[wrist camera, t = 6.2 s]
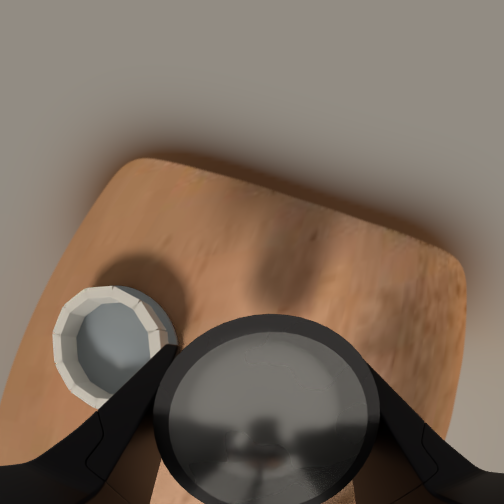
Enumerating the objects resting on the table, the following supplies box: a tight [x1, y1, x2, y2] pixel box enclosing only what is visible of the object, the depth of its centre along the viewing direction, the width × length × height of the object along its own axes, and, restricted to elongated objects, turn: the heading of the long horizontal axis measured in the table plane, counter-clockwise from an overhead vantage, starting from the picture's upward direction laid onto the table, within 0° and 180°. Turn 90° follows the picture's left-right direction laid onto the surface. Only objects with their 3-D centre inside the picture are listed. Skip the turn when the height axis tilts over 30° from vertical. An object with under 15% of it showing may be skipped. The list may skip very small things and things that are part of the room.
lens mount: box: [53, 286, 179, 409], centre depth 19 cm, size 10×10×3 cm
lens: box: [153, 314, 380, 504], centre depth 10 cm, size 5×5×10 cm
